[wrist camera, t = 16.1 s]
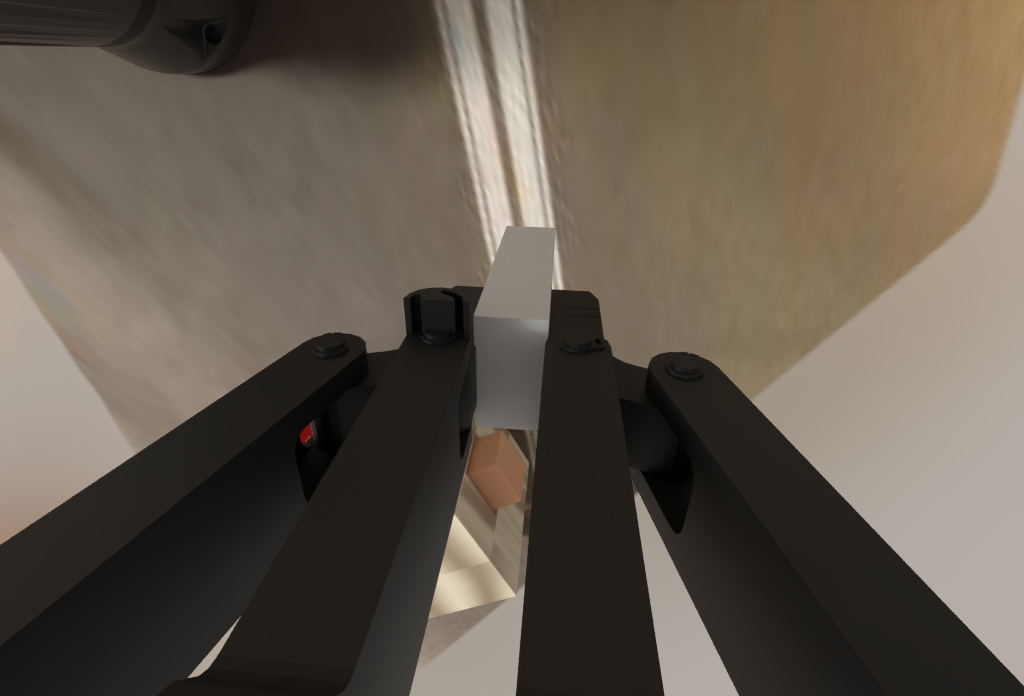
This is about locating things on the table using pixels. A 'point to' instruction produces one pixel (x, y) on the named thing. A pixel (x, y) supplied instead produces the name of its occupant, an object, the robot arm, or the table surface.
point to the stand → (481, 546)
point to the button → (496, 470)
